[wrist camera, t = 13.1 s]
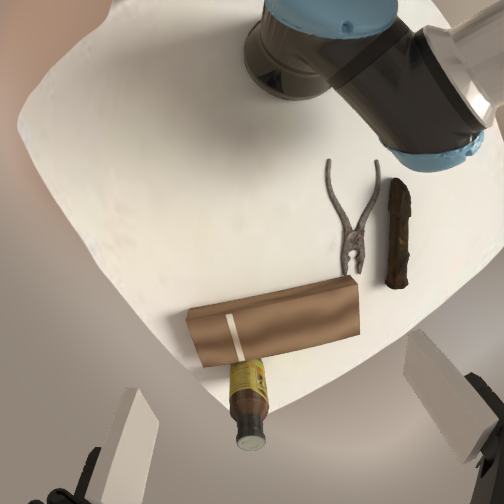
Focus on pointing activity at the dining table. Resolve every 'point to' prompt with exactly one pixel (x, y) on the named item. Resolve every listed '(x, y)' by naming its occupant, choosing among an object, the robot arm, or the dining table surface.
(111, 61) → the dining table surface
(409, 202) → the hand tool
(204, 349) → the walnut plank
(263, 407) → the sauce bottle
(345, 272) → the pliers
